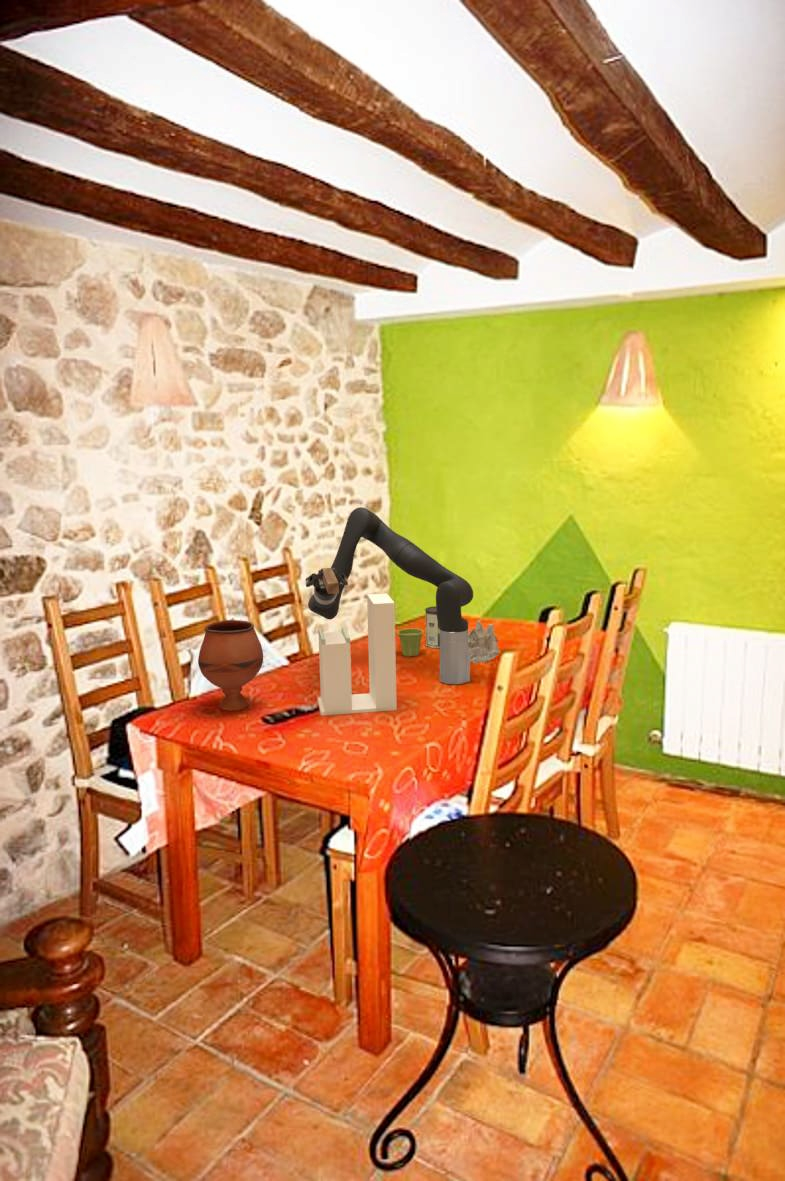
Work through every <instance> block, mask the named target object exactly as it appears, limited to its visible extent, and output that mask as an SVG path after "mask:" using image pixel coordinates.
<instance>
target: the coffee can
mask: <svg viewBox="0 0 785 1181" xmlns="http://www.w3.org/2000/svg"><path fill="white" fill-rule="evenodd" d="M424 611H425V646H426V647H427V646H428V648H432V649H440V629H439V623H438V620H437V612H436V605H435V606H429V607H426V608H425V609H424Z"/></svg>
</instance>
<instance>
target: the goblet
mask: <svg viewBox="0 0 785 1181" xmlns="http://www.w3.org/2000/svg"><path fill="white" fill-rule="evenodd" d="M204 631H205V632H204V637H203V640H202V643H201V646H200V650H199V654H198V658H197V659H198V660H197V663H198V668H199V670H200V672H201V674H202V675H203V677H204V678H205V679H206V680H207V681H208V682H209V683H210V684H212V685H214V686H216V687H217V688H220V689H221V691H222V693H223V694H224V697H223V698H222V700H221V701H220V703H219V705H218V706H219V708H220V709H221V710H223V711H229V712H231V711H240V710H243V709H246V708H247V707H249V700H248V699H247V698H246V697H245V696H244V695H243V694H242V693H241V692H242V691H243V687H244V686H246V685H247V684H249V683H250V682H251V681H252V680H253V679H255V677H256V676H257V675H258V673H259V671H260V670H261V668H262V666H263V663H264V651H263V648H262V643H261V641H260V639H259V636H258V634H257V632H256V630H255V625H254V624H253V623H252V622H250V621H247V620H239V619H224V620H219V621H216V622H212V623H209V624H207V625H205V627H204Z"/></svg>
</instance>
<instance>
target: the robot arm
mask: <svg viewBox="0 0 785 1181" xmlns="http://www.w3.org/2000/svg"><path fill="white" fill-rule="evenodd" d="M344 527H345V528H344V530H343V534H342V537H341V540H340V543H339V546H338V549H337V552H336V555H335V557H334V560H333V562H332V564H331V566H330V568H332V570H333V572H334V574H335V576H336V579H337V581H338V583H339V594H328V592H327V589H326V587H325V584H324V582H323V569H322V568H320V569H319V570H318V571H317V572H318V573H311V574H310V575H309V576H308V577H306V578H305V587H306V588H310V587H312V586H313V594H312V595H311V596H310V598H309V600H308V603H307V608H308V609H309V610H310V611H311V612H312V613H314V614H316V615H318V616H320V617H323V619H324V618H325V619H327V620H333V619H334V618H336V617H337V615H338V613H339V609H340V603H341V599H342V594H343V591H344V588H345V586H348V585H349V578H350V575H351V573H352V571H353V566H354V559H355V553H356V550H357V546H358V544H359V542H360V540H361V539H365V540H367V541H369V542H370V543H372V544H374V545H375V546H377V547H378V548H380V549H381V551H383V552H384V553H385V556H387V557H388V559H389V560H390V561H391V562H393V564H395V565H396V566H397V567H398V568H399V569H400V570H402V571H403V572H404V573H406V574H408V575H409V576H412V577H414V578H416V579H419V580H421V581H424V582H428V583H430V585H431V584H432V586H435V587H436V592H435V606H436V612H437V620H438V623H439V629H440V648H439V681H440V682H441V683H443V684H446V685H447V684H448V685H461V684H465V683H471V663H470V653H469V652H468V633H469V621H468V619H466V618H463V616H462V607H464V606H467V605H469V604H470V603H471V602H472V601H473V599H474V590H473V587H472V586H471V584H470V583H469V582H468V581H467V579H464V578H463V577H461V576H460V575H458V574H457V573H455V572H452V571H451V570H450V569H448V568H447V567H445V566H443V565H442V564H441V563H439V561H437V560H436V559H434V558H433V557H431V556H430V555H429V554H428V553H426V551H424V550H423V549H421V548H420V547H419V546H417V545H416V544H415V543H414V542H412V540H411V541H410V540H409V539H407V537H404V536H402V535H400V534H398V533H397V532H395V531H394V530H393V529H391V528H390V527H389V526H388V525H387V524H386V523H385V522H384V521H383V520H382V519H381V518H380V517H379V516H378V515H377V514H376V513H374V512H373V511H371V510H370V509H368V508H367V507H362V506H361V507H356V508H354V509H353V510H352V511H351V512H350V514H349V516H348V518H347V521H346V524H345V526H344Z"/></svg>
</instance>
